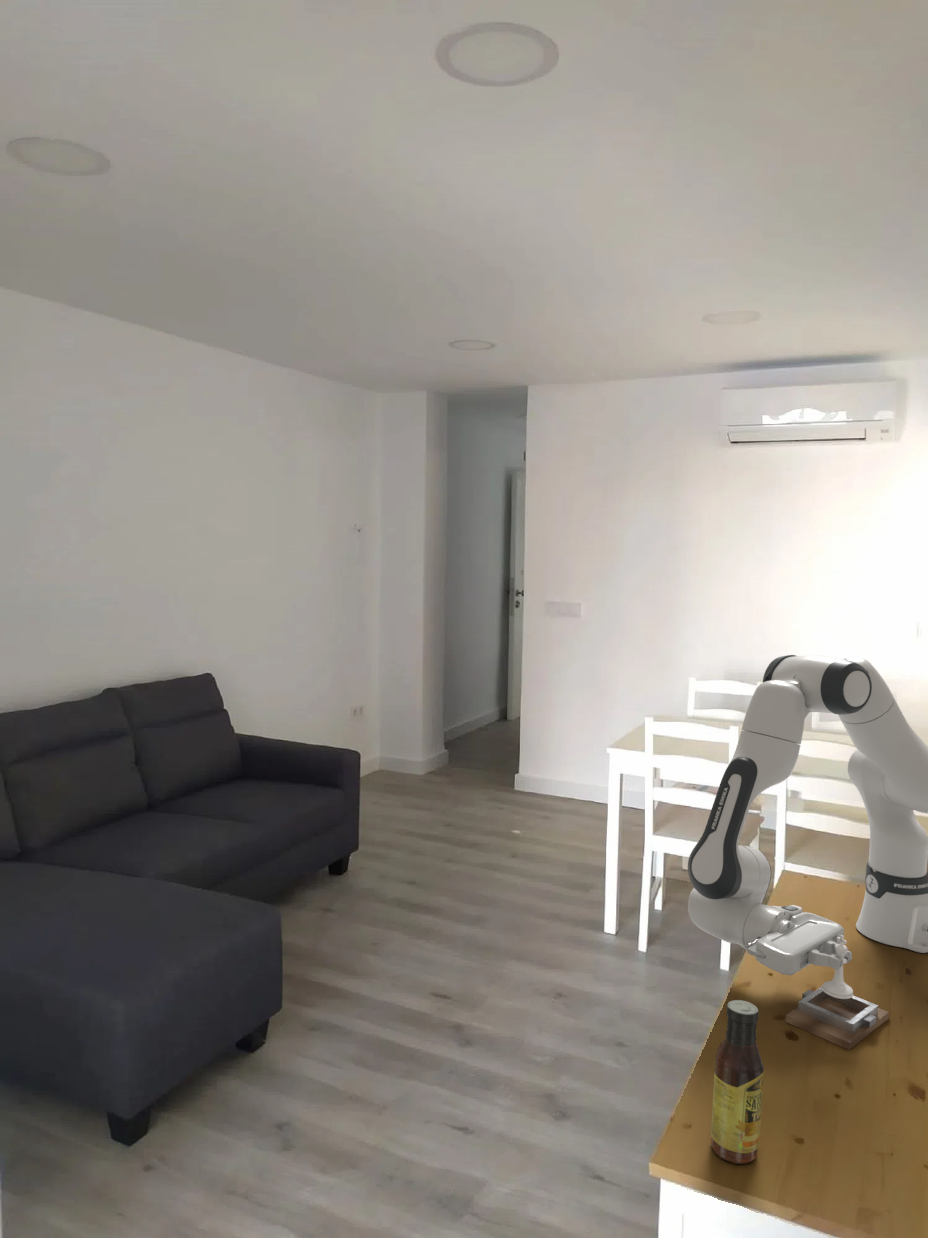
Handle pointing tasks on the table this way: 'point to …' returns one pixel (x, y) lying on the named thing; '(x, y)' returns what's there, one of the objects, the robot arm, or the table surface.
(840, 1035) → the socket board
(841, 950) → the chess piece
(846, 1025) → the square frame tray
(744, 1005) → the sauce bottle
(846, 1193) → the table surface
